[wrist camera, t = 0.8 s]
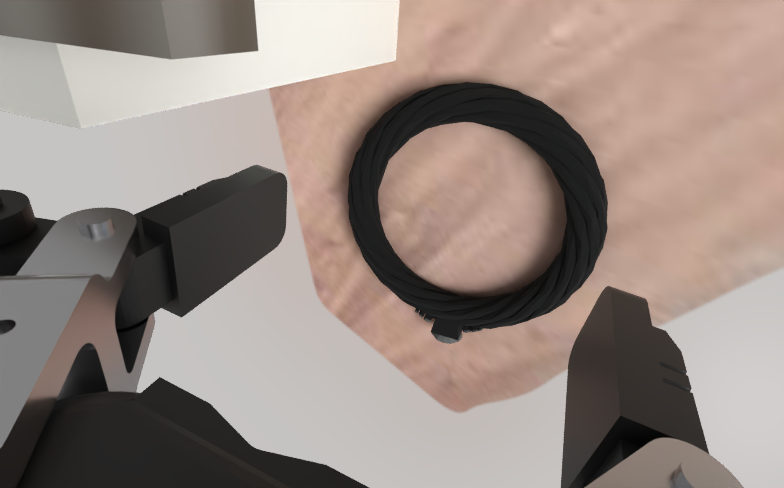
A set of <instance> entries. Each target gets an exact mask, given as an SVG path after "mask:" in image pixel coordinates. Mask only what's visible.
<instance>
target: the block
mask: <svg viewBox="0 0 784 488" xmlns="http://www.w3.org/2000/svg"><path fill="white" fill-rule="evenodd" d="M0 35H2V36H9V37H16V38H23V39H30V40H37V41H44V42H51V43H58V44H65V45H73V46H80V47H87V48H94V49H101V50H108V51H115V52H122V53H129V54H136V55H143V56H150V57H157V58H164V59H171V60H172V59H182V58H192V57H203V56H213V55H223V54H233V53H243V52H254V51H258V39H257V27H256V15H255V3H254V0H0Z"/></svg>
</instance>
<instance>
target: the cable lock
mask: <svg viewBox="0 0 784 488" xmlns="http://www.w3.org/2000/svg"><path fill="white" fill-rule="evenodd" d="M458 122H475V123H478V124H482V125H486V126H489V127H493V128H497V129H500V130H504V131H507V132H509V133H511V134H512V135H514V136H516V137H517V138H519V139H520V140H522V141H524V142H525V143H527V144H528V145H529V146H530V147H531V148H532V149H533V150H534V151H536V152H537V153H538V154H539V155H540V156H541V157H542V158H543V159H544V160H545V161H546V162H547V164H548V165H549V166H550V167H551V169H552V171H553V173H554V175H555V177H556V179H557V181H558V183H559V185H560V187H561V189H562V191H563V193H564V200H565V206H566V213H567V224H566V229H565V234H564V238H563V243H562V248H561V250H560V252H559V254H558V255H557V257H556V258H555V259H554V261H553V262H552V264H551V265H550V267H549V268H548V269H547V271H546V272H545V273H544V274H543V275H542V276H540V277H539V278H538V279H537V280H535V281H534V282H532V283H530V284H529V285H527V286H525V287H524V288H522V289H520V290H518V291H515V292H512V293H509V294H504V295H500V296H495V297H483V298H481V297H463V296H459V295H456V294H453V293H450V292H447V291H444V290H441V289H438V288H436V287H434V286H432V285H430V284H428V283H427V282H426V281H424V280H423V279H421V278H420V277H419V276H417V275H416V274H414V273H413V272H412V271H411V270H410V269H409V268H407V267H406V266H405V265H404V263H403V262H402V261H401V260H400V258H399V257H398V256H397V255H396V253H395V252H394V250H393V249H392V247H391V245H390V243H389V242H388V240H387V238H386V236H385V233H384V230H383V227H382V224H381V221H380V213H379V205H378V189H379V187H380V184H381V181H382V178H383V175H384V172H385V169H386V167H387V164H388V161H389V159H390V158H391V157H392V156H393V155H394V154H395V153H396V152H397V151H398V150H399V149H400V148H401V147H402V146H403V145H404V144H405V143H406V142H407V141H408V140H409V139H410V138H412V137H414V136H415V135H417V134H419V133H420V132H422V131H424V130H425V129H428V128H431V127H435V126H439V125H444V124H451V123H458ZM348 203H349V219H350V223H351V226H352V230H353V233H354V237H355V240H356V242H357V244H358V246H359V247H360V250H361V252H362V255H363V257H364V259H365V261H366V262H367V263H368V265H369V266H370V268H371V269H372V270H373V272H374V273H375V275H376V276H377V277H378V279H379V280H380V281H381V282H382V283H383V284H384V285H386V286H387V287H388V288H389V289H390V290H391V291H392V292H393V293H395V294H396V295H397V296H398V297H399V298H400V299H401V300H402V301H404V302H406V303H407V304H409V305H411V306H413V307H415V308H416V310H415V312H416V313H418V312H419V310H420V312H419V316H420V317H423V316H424V315H425V313H426V315H425V317H424V320H426V321H428V322H430V321H431V320H432V318H435V322H434V324H433V327H432V330H431V332H432V334H433V335H434V337H435V338H436V339H437V340H439V341H441V342H443V343H449V344H451V343H455V342H459V341H460V339H461V338H462V330H463V332H465V333H468V332H471V331H472V332H476V331H481V330H482V329H483V328H487V329H492V328H497V327H503V326H512V325H516V324H519V323H522V322H525V321H528V320H530V319H533V318H536V317H539V316H541V315H544V314H547V313H549V312H551V311H553V310H554V309H556V308H557V307H559V306H560V305H562V304H563V303H565V302H566V301H567V300H568V299H569V297H570V296H571V295H572V294H573V293H574V292H575V291H577V290H578V289H579V288H580V287H581V286H582V285H583V283H584V282H585V281H586V279H587V278H588V277H589V275H590V274H591V273H592V271H593V269H594V266H595V263H596V260H597V258H598V256H599V254H600V252H601V250H602V248H603V245H604V241H605V237H606V233H607V205H608V201H607V196H606V190H605V184H604V180H603V178H602V177H601V175H600V172H599V169H598V166H597V163H596V160H595V157H594V156H593V154H592V152H591V151H590V149H589V148H588V146H587V145H586V143H585V141H584V140H583V138H582V137H581V135H580V134H578V133H577V132H576V131H575V130H574V129H573V128H572V127H571V126H570V125H569V124H568V123H567V122H566V120H565V119H564V118H563V117H562V116H561V115H559V114H558V113H557V112H555V111H554V110H552V109H551V108H550V107H548V106H547V105H546V104H544V103H543V102H542V101H539V100H537V99H534V98H531V97H529V96H526V95H524V94H522V93H521V92H519V91H516V90H512V89H509V88H505V87H501V86H497V85H493V84H482V83H469V82H465V83H460V84H446V85H441V86H437V87H433V88H430V89H426V90H423V91H420V92H418V93H416V94H414V95H413V96H411V97H409V98H407V99H405V100H404V101H402V102H400V103H399V104H397V105H396V106H395V107H393V108H392V109H390V110H389V111H388V112H386V113H385V114H384V115H383V116H382V117H381V118H380V119H379V120H378V122H377V123H376V124H375V125H374V126H373V127H372V128H371V129H370V130H369V132H368V133H367V134H366V136H365V138H364V141H363V143H362V145H361V147H360V148H359V150H358V152H357V153H356V156H355V159H354V162H353V165H352V168H351V171H350V174H349V189H348Z"/></svg>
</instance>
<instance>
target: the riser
mask: <svg viewBox="0 0 784 488" xmlns="http://www.w3.org/2000/svg"><path fill="white" fill-rule="evenodd" d="M254 3H255V15H256V27H257V39H258V51H254V52H243V53H233V54H223V55H213V56H203V57H192V58H182V59H172V60H171V59H164V58H157V57H150V56H143V55H136V54H129V53H122V52H115V51H108V50H101V49H94V48H87V47H80V46H73V45H65V44H58V43H51V42H44V41H37V40H30V39H23V38H16V37H9V36H2V35H0V111H4V112H8V113H13V114H17V115H22V116H27V117H31V118H35V119H40V120H44V121H49V122H53V123H57V124H62V125H67V126H71V127H75V128H80V129H84V128H88V127H93V126H97V125H102V124H107V123H111V122H116V121H120V120H125V119H130V118H134V117H139V116H143V115H148V114H153V113H157V112H162V111H166V110H171V109H176V108H180V107H185V106H189V105H194V104H198V103H203V102H207V101H212V100H217V99H222V98H226V97H231V96H235V95H240V94H245V93H249V92H254V91H258V90H263V89H268V88H272V87H277V86H281V85H286V84H291V83H295V82H300V81H304V80H309V79H314V78H318V77H323V76H327V75H332V74H337V73H341V72H346V71H350V70H355V69H360V68H364V67H369V66H373V65H378V64H383V63H387V62H392V61H396V47H397V32H398V16H399V0H254Z"/></svg>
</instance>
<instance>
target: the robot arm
mask: <svg viewBox="0 0 784 488" xmlns="http://www.w3.org/2000/svg"><path fill="white" fill-rule="evenodd" d="M286 204H287V180H286V177H285V175H284V174H282V173H280V172H277V171H274V170H271V169H268V168H265V167H262V166H259V165H254V166H251V167H249V168H247V169H245V170H242V171H240V172H238V173H235V174H233V175H231V176H229V177H226V178H221V179H216V180H212V181H210V182H208V183H205V184H203V185H201V186H199V187H197V189H192V190H189V191H187V192H185V193H183V195H178V196H176V197H173V198H171V199H169V200H167V201H164V202H162V203H160V204H157V205H155V206H153V207H151V208H148V209H146V210H144V211H141V212H139V213H137V214H135V215H133V214H131V213H130V212H127V211H125V210H121V209H116V208H92V209H86V210H81V211H77V212H74V213H71V214H69V215H67V216H65V217H63V218H61V219H60V220H58V221H54V220H48V219H42V218H35V217H34V213H33V210H32V207H31V205H30V201H29V199H28V197H27V196H26V195H24V194H22V193H20V192H16V191H10V190H0V488H368V487H367V486H365V485H363V484H361V483H359V482H357V481H355V480H353V479H351V478H350V477H348V476H346V475H344V474H342V473H340V472H338V471H336V470H335V469H333V468H331V467H329V466H327V465H323V464H319V463H315V462H310V461H306V460H301V459H297V458H293V457H288V456H283V455H280V454H275V453H271V452H266V451H262V450H259V449H256V448H254V447H252V446H251V445H250V444H248V442H247V441H246V440H245V439H244V438H243V437H242V436H241V435H240V434H239V433H238V432H237V431H236V430H235V429H234V428H233V427H232V426H231V425H230V424H229V423H228V422H227V421H226V420H225V419H224V418H223V417H222V416H221V415H220V414H219V413H218V412H217V411H216V409H215V408H213V406H212V405H211V404H209V403H208V402H206V401H203V400H202V399H200V398H198V397H196V396H194V395H193V394H191V393H189V392H187V391H185V390H183V389H181V388H179V387H177V386H175V385H174V384H171V383H170V382H168V381H166V380H164V379H162V378H160V377H159V378H158V379H157V380H156V381H155V382H154V383H153V384H151V385H150V386H149V387H148V388H146V389H145V390H144V391H143V392H142V393H136V390H137V385H138V382H139V378H140V375H141V371H142V368H143V364H144V360H145V357H146V353H147V350H148V346H149V343H150V339H151V336H152V332H153V329H154V325H155V319H154V312H155V311H157V310H158V309H160V308H163V309H165V310H167V311H169V312H171V313H173V314H175V315H178V316H180V317H183V316H184V315H186V314H187V313H188V312H190V311H191V310H193V309H194V308H195V307H197V306H198V305H199V304H201V303H202V302H203V301H205V300H206V299H207V298H209V297H210V296H211V295H213V294H214V293H215V292H217V291H218V290H219V289H221V288H222V287H224V286H225V285H226V284H227V283H229V282H230V281H232V280H233V279H234V278H236V277H237V276H238V275H240V274H241V273H242V272H244V271H245V270H246V269H248V268H249V267H251V266H252V265H253V264H255V263H256V262H257V261H259V260H260V259H261V258H263V257H264V256H265V255H267V254H268V253H269V252H271V251H272V250H273V249H275V248H276V247H277V246H278V245H279V243H280V242H281V240H282V238H283V236H284V233H285V228H286ZM686 372H687V371H686V367H685V364H684V360H683V356H682V353H681V351H680V349H679V348H678V347H677V345H676V344H675V343H674V341H673V340H672V339H671V338H670V336H669V335H668V333H667V332H666V331H664V330H662V329H659V328H656V327H653V326H652V323H651V318H650V313H649V308H648V303H647V300H646V299H645V298H642V297H639V296H636V295H633V294H630V293H627V292H624V291H621V290H619V289H616V288H613V287H610V286H607V287H606V288H605V289H604V290H603V291H602V293H601V295H600V296H599V298H598V300H597V302H596V304H595V305H594V307H593V309H592V311H591V313H590V315H589V316H588V318H587V320H586V322H585V324H584V326H583V327H582V329H581V331H580V333H579V335H578V337H577V339H576V341H575V343H574V345H573V348H572V351H571V355H570V359H569V364H568V379H567V395H566V412H565V428H564V429H565V430H564V444H563V461H562V477H561V488H743V487H742V485H741V484H740V482H739V481H738V480H737V479H736V478H735V477H734V476H733V474H732V473H731V472H730V471H729V470H727V469H726V468H725V467H724V466H723V465H722V464H721V463H720V462H718V461H717V460H716V459H715V458H713V457H712V456H710V455H709V452H708V448H707V445H706V441H705V437H704V434H703V430H702V426H701V423H700V419H699V415H698V411H697V408H696V404H695V400H694V397H693V393H690V390H691V386H690V382H689V378H688V376H687V375H686Z"/></svg>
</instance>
